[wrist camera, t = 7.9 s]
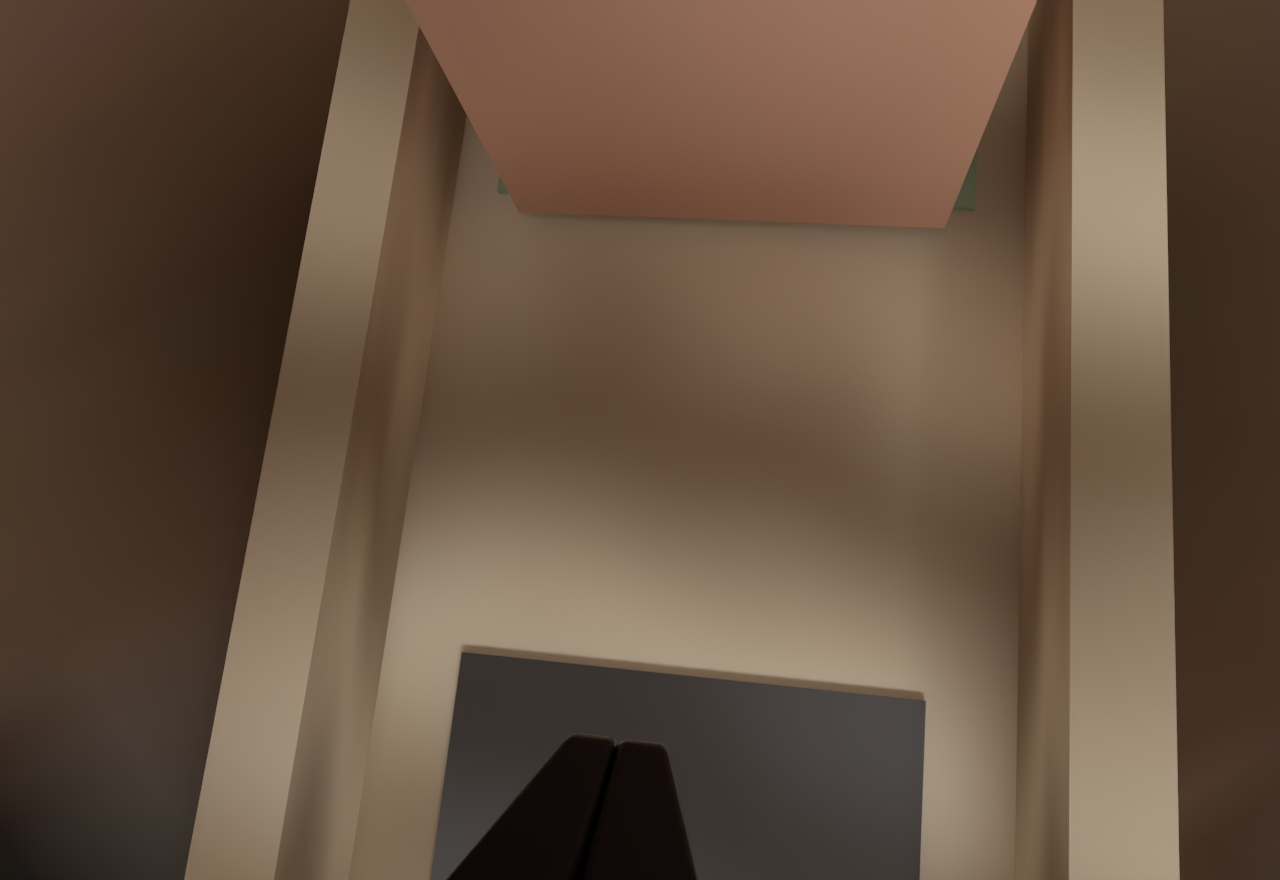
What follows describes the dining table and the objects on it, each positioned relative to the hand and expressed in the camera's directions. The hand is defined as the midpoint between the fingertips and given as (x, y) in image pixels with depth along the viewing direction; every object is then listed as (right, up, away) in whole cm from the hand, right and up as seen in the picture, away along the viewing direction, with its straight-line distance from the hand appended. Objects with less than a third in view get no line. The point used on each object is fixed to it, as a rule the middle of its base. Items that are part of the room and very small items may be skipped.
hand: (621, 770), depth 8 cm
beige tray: (+1, +2, +8) cm, 8 cm away
